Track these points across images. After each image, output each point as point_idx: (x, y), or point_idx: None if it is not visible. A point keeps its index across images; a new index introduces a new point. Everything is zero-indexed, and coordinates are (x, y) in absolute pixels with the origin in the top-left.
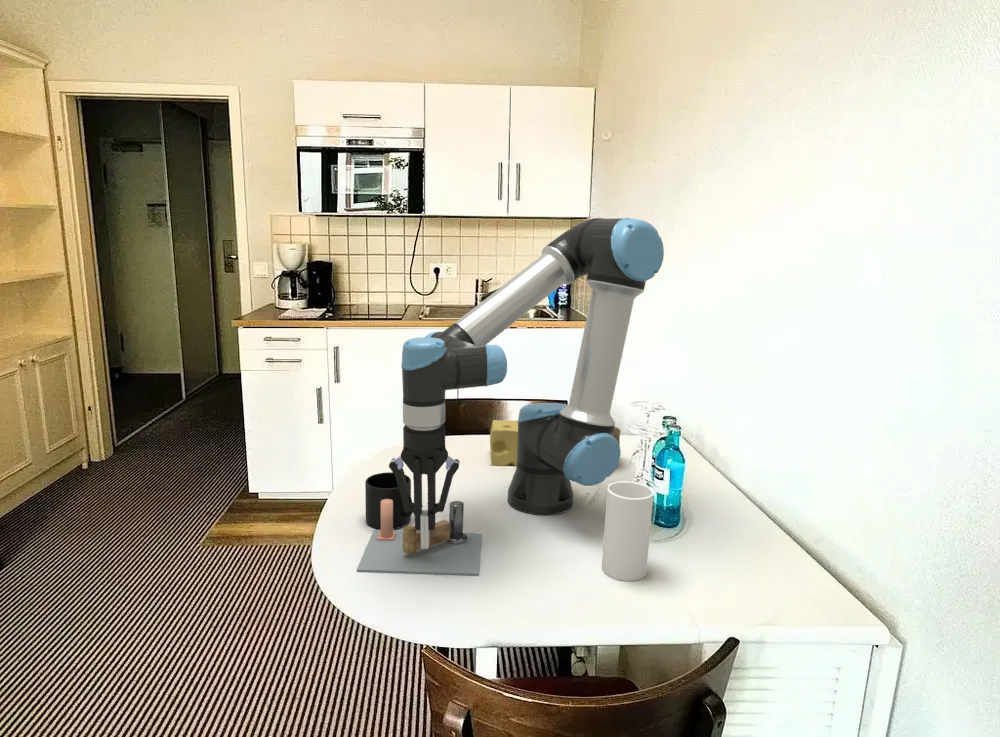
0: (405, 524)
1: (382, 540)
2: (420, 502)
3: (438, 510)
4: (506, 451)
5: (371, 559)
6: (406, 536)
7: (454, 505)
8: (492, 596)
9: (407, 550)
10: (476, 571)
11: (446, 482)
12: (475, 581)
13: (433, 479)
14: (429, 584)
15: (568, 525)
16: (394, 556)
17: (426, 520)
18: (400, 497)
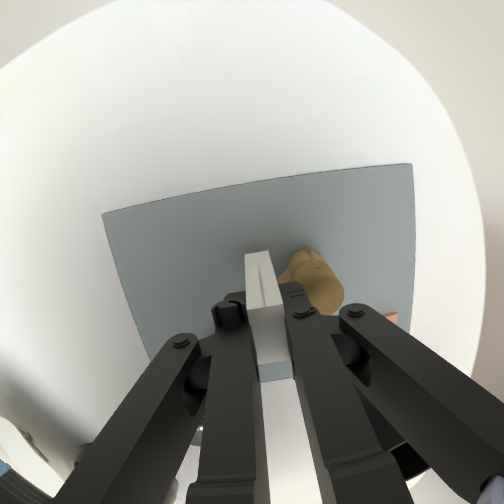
0: None
1: (384, 314)
2: (294, 348)
3: (193, 336)
4: None
5: (393, 220)
6: (325, 268)
7: (200, 426)
8: (59, 137)
9: (310, 250)
10: (108, 223)
11: (106, 465)
12: (103, 186)
13: (191, 490)
14: (209, 136)
15: (54, 416)
16: (342, 248)
17: (253, 298)
18: (375, 432)
